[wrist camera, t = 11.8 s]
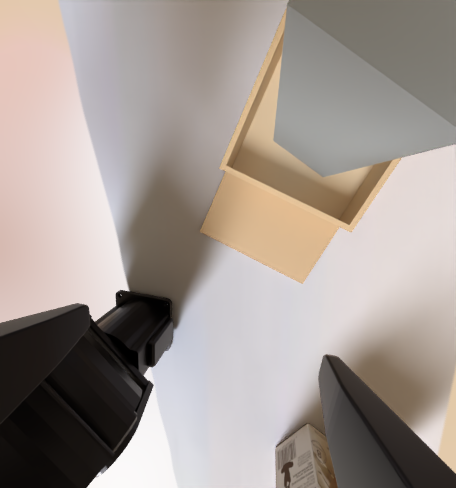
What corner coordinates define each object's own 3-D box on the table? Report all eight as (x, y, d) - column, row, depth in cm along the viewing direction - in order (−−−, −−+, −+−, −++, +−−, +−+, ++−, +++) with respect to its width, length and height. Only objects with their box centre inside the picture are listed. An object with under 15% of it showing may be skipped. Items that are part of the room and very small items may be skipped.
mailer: (201, 230, 20) (190, 237, 18) (287, 31, 16) (291, -5, 13) (301, 282, 20) (307, 297, 17) (425, 91, 15) (462, 67, 12)
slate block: (273, 140, 17) (287, 4, 5) (306, 91, 16) (449, -273, 3) (323, 177, 17) (473, 139, 5) (360, 131, 16) (700, -89, 3)
